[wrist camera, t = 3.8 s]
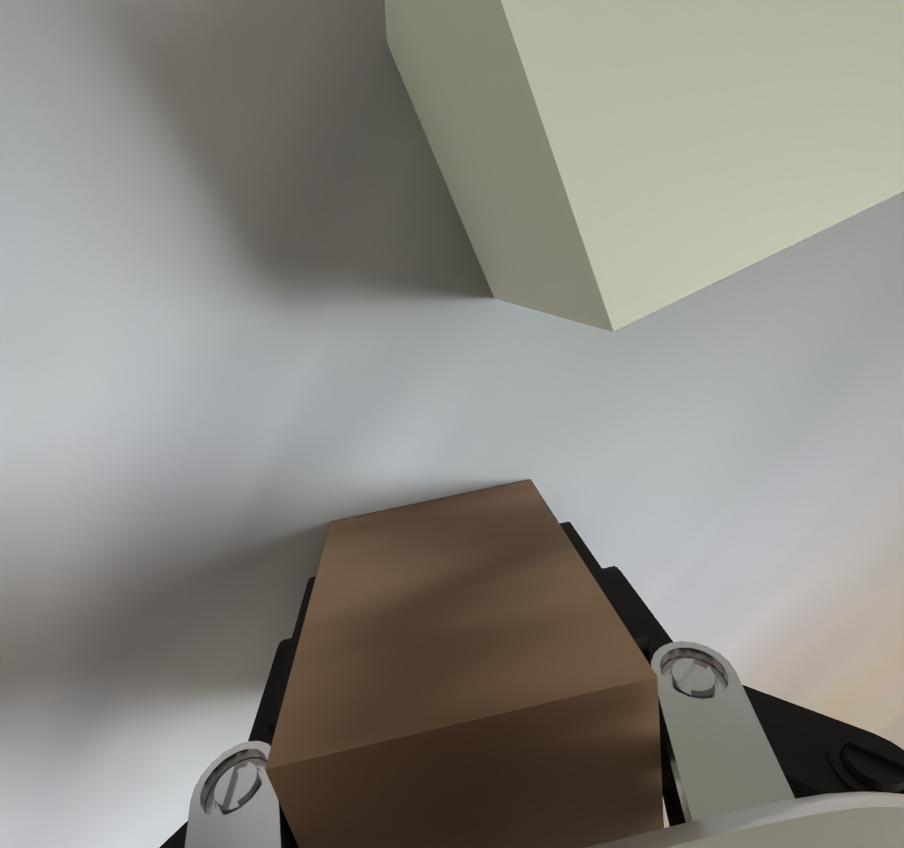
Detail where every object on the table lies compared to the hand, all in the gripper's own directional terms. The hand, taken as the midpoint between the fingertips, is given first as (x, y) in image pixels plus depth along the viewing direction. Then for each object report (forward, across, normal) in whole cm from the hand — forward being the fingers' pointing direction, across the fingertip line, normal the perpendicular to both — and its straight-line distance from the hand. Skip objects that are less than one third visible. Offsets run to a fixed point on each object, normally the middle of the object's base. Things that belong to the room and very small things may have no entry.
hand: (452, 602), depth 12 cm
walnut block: (+1, 0, 0) cm, 1 cm away
